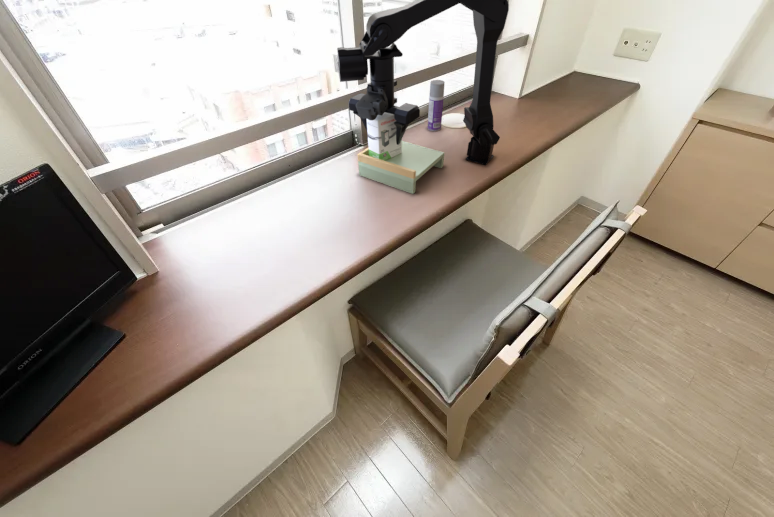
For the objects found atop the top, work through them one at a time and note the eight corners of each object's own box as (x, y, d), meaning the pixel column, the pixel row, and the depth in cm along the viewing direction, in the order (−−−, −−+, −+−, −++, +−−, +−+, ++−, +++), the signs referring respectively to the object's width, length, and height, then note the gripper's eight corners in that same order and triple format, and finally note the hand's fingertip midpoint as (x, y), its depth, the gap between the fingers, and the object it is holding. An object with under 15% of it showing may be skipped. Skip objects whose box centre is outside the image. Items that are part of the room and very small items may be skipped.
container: (442, 126, 119) (446, 80, 109) (439, 131, 116) (443, 85, 106) (429, 124, 120) (432, 79, 110) (425, 130, 117) (428, 83, 107)
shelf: (443, 166, 99) (445, 145, 95) (413, 194, 89) (413, 172, 85) (392, 151, 107) (391, 131, 102) (359, 175, 97) (357, 154, 92)
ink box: (379, 163, 92) (377, 120, 84) (368, 157, 95) (365, 115, 87) (402, 153, 96) (402, 111, 88) (390, 147, 99) (390, 106, 91)
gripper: (330, 81, 81) (338, 143, 92) (396, 94, 73) (396, 161, 84) (359, 69, 87) (363, 128, 98) (422, 80, 79) (419, 143, 90)
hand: (384, 140), depth 92 cm, fingers open, 9 cm apart
